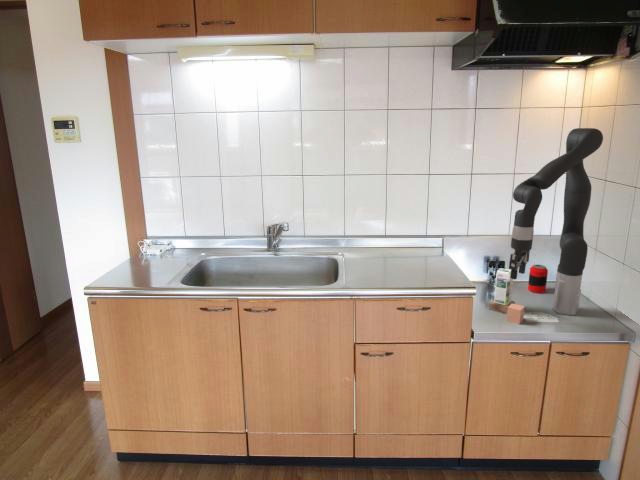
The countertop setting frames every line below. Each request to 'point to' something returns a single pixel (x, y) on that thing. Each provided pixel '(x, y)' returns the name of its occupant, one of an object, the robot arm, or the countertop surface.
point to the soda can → (537, 279)
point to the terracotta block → (515, 313)
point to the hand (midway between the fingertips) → (517, 275)
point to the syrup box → (503, 287)
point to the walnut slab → (499, 307)
